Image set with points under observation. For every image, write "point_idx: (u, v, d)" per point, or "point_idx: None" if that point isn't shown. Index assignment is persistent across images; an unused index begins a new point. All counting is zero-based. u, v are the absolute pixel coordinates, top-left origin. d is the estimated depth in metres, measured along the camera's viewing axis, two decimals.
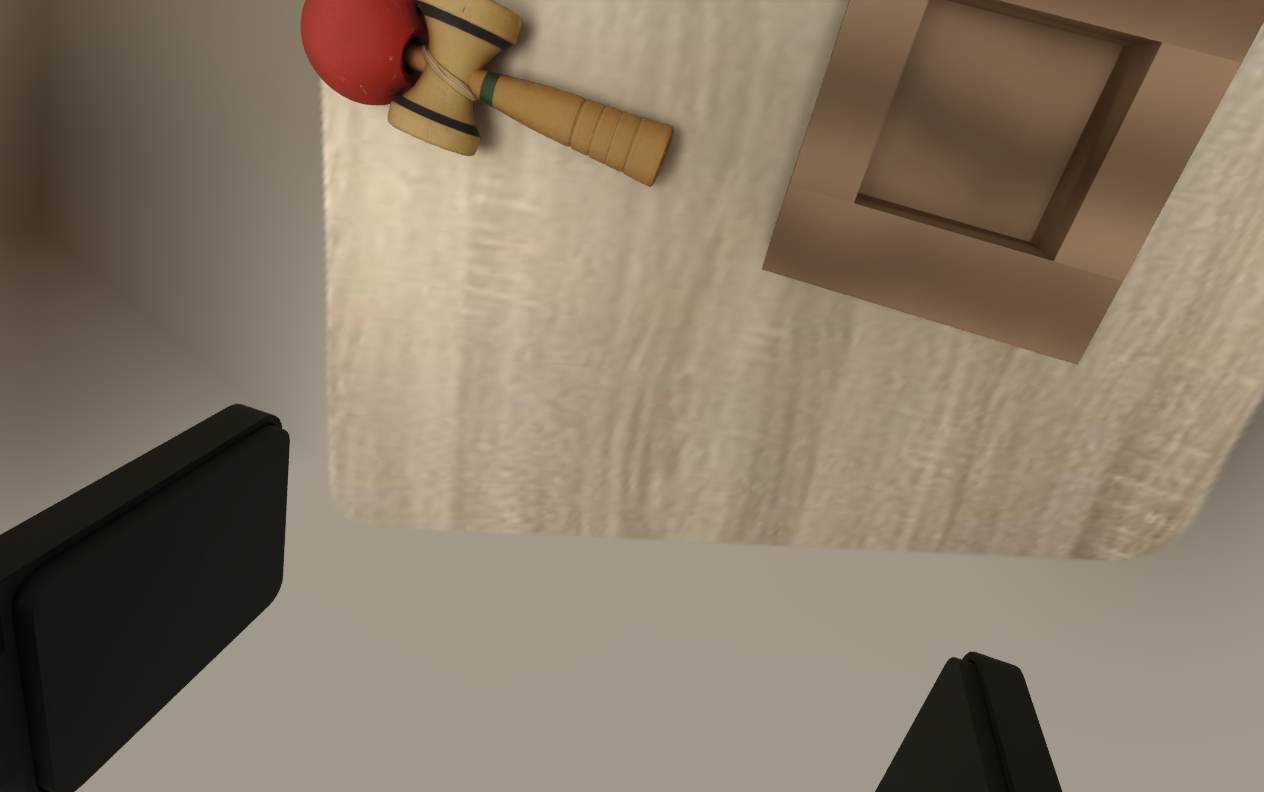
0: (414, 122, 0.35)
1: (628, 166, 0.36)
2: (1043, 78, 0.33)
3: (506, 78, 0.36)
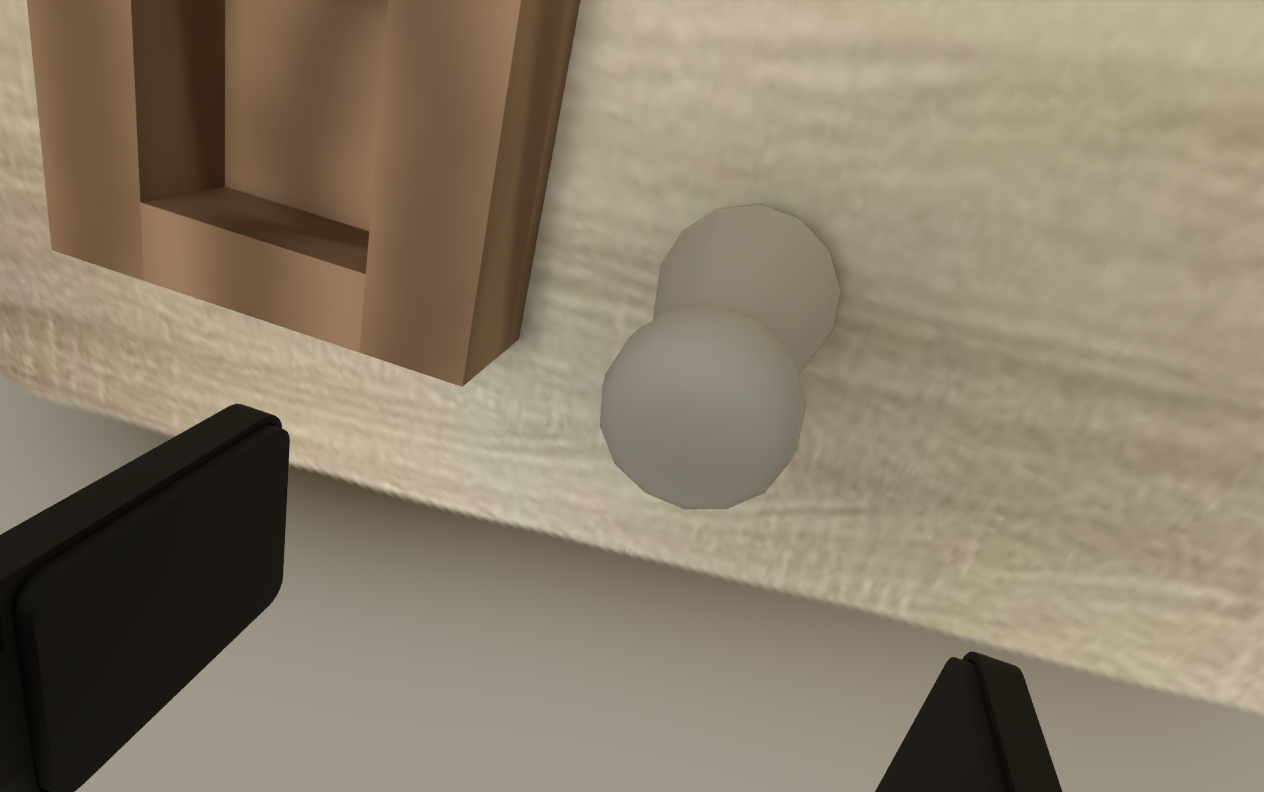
0: None
1: None
2: None
3: None
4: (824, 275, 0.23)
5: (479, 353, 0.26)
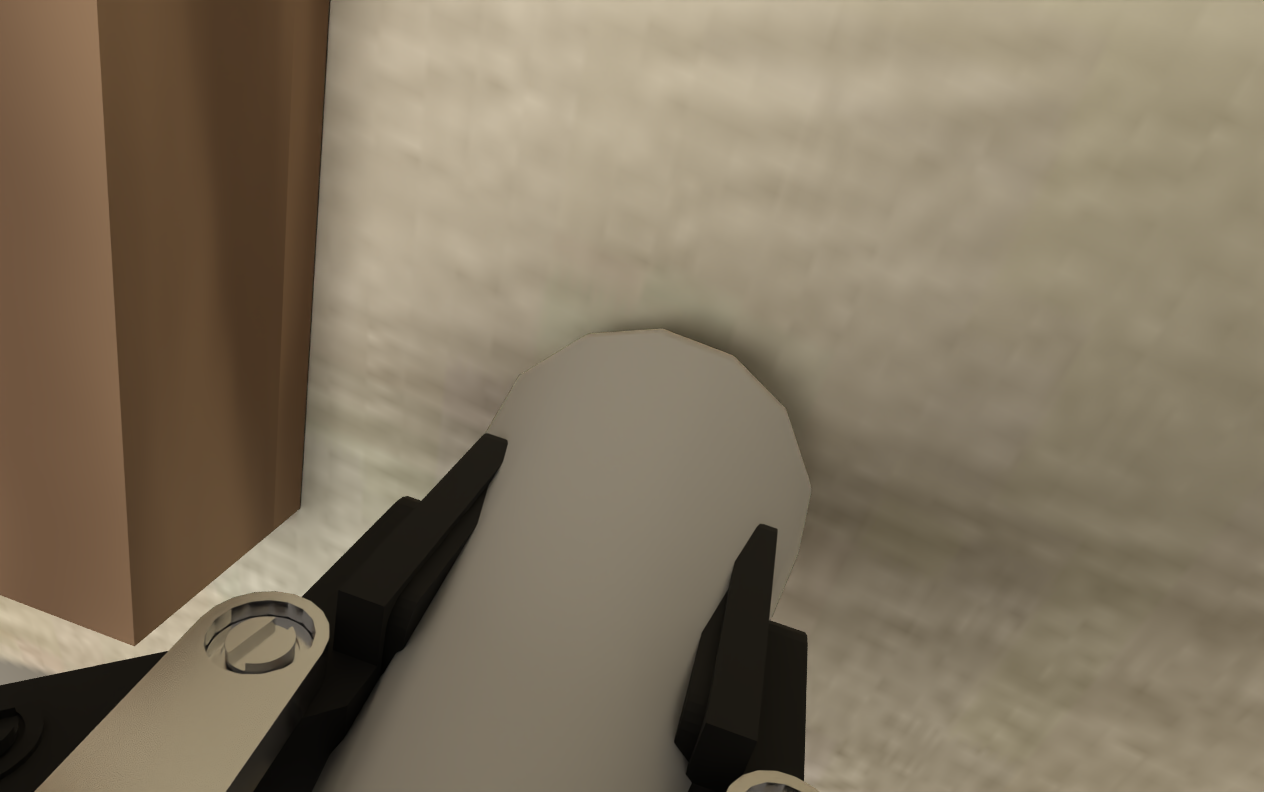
0: None
1: None
2: None
3: None
4: (777, 484, 0.11)
5: (178, 576, 0.15)
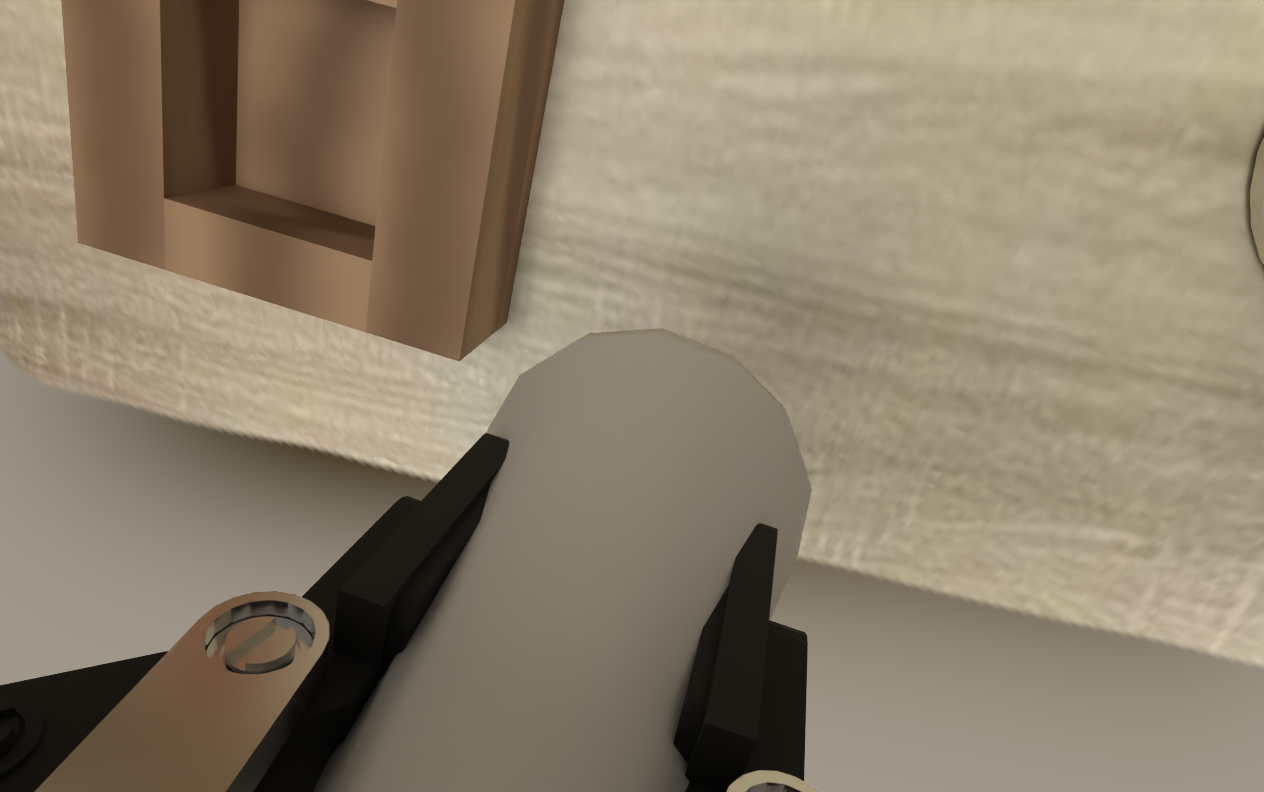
0: None
1: None
2: None
3: None
4: (777, 483, 0.11)
5: (474, 332, 0.29)
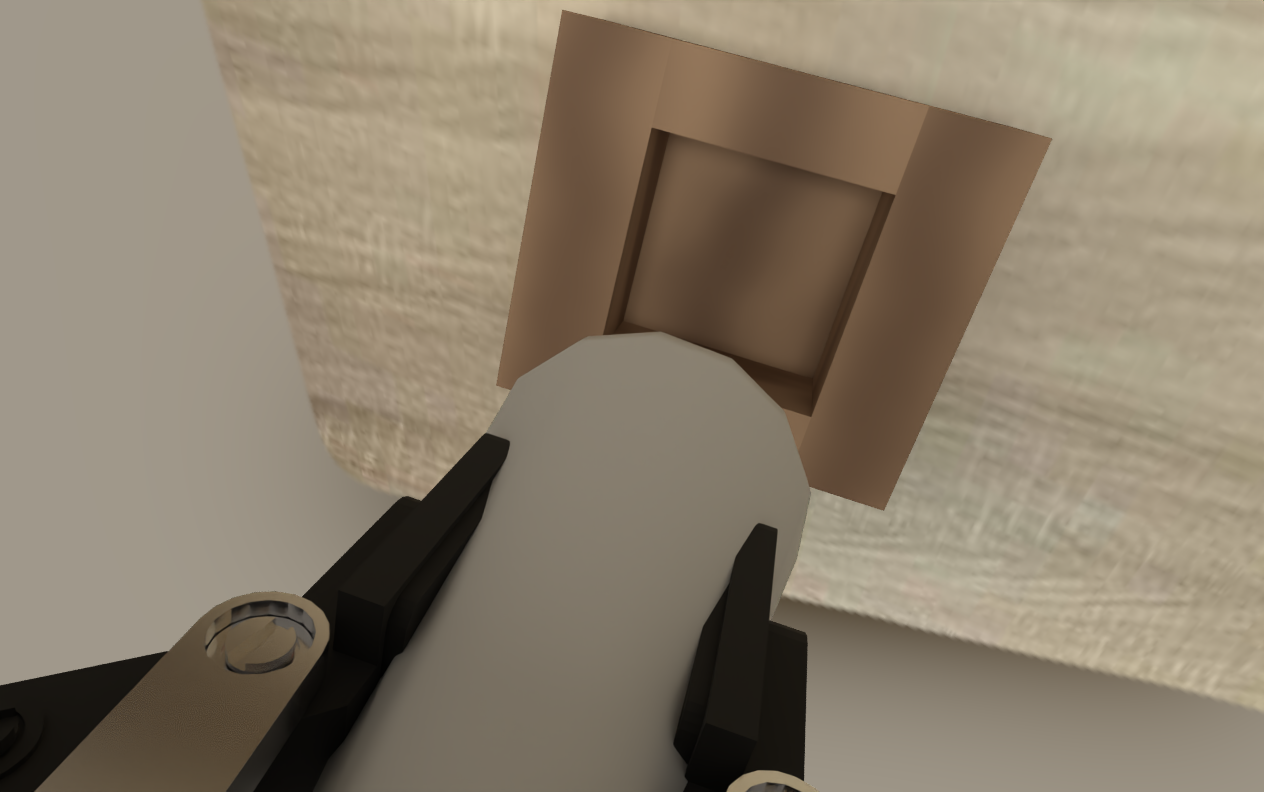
0: None
1: None
2: (786, 313, 0.32)
3: None
4: (776, 487, 0.11)
5: None
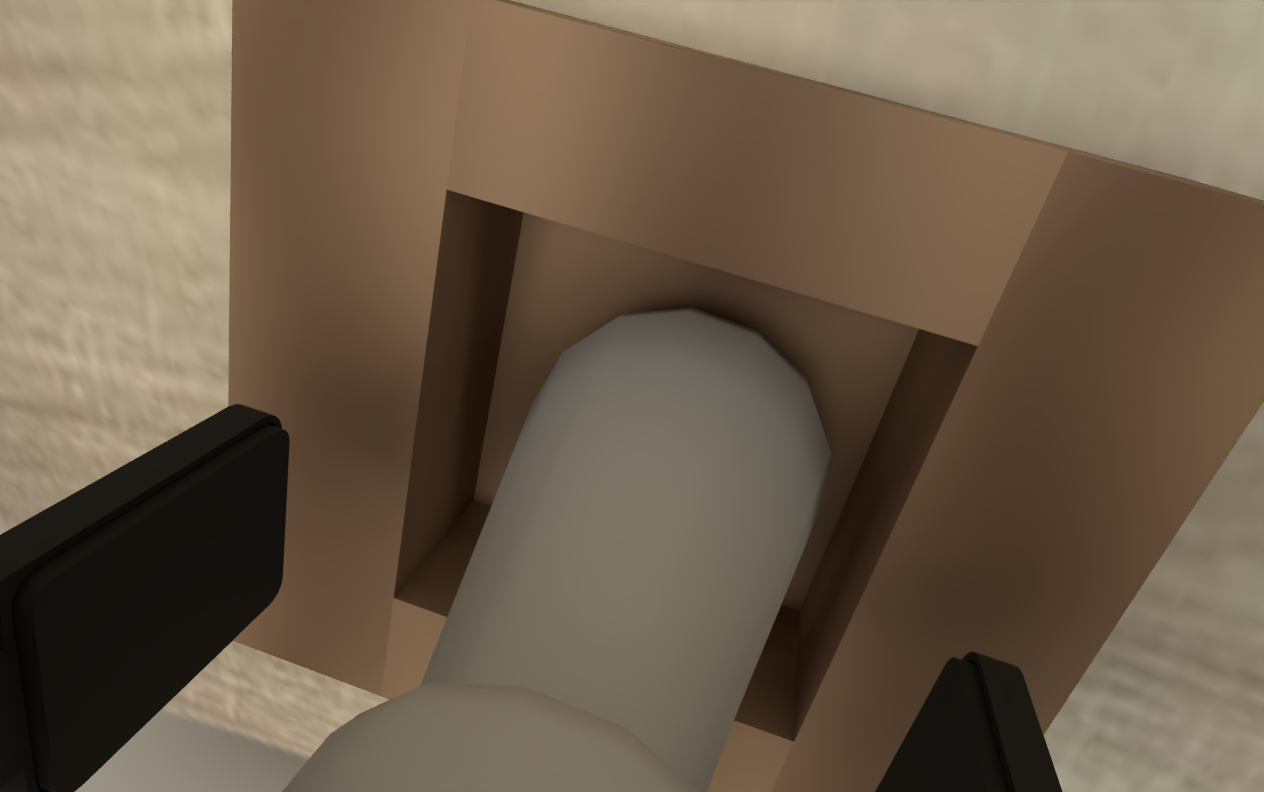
0: None
1: None
2: None
3: None
4: (801, 443, 0.13)
5: None
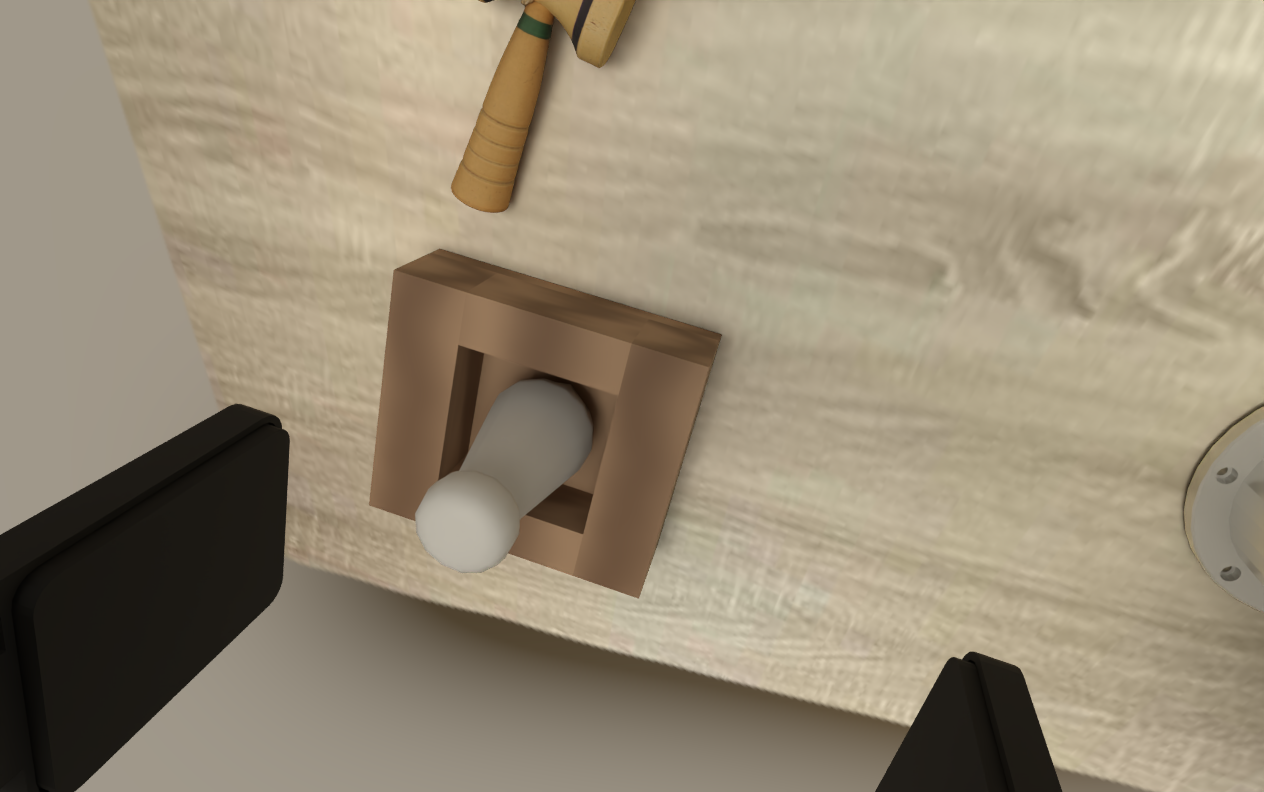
0: None
1: (463, 171, 0.37)
2: None
3: (542, 47, 0.34)
4: (574, 425, 0.39)
5: (646, 574, 0.42)
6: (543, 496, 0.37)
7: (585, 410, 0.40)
